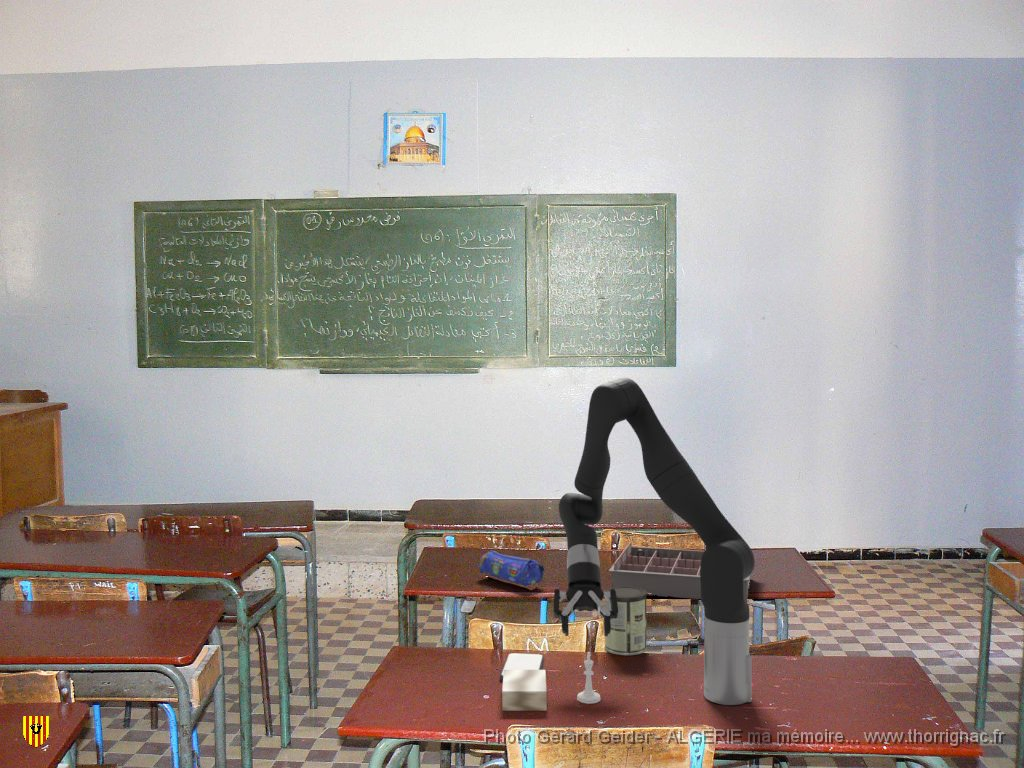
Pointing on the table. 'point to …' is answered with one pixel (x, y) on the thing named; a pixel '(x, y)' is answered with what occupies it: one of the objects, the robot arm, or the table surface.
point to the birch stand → (524, 690)
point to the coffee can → (627, 622)
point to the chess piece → (588, 685)
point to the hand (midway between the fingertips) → (586, 634)
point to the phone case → (522, 662)
